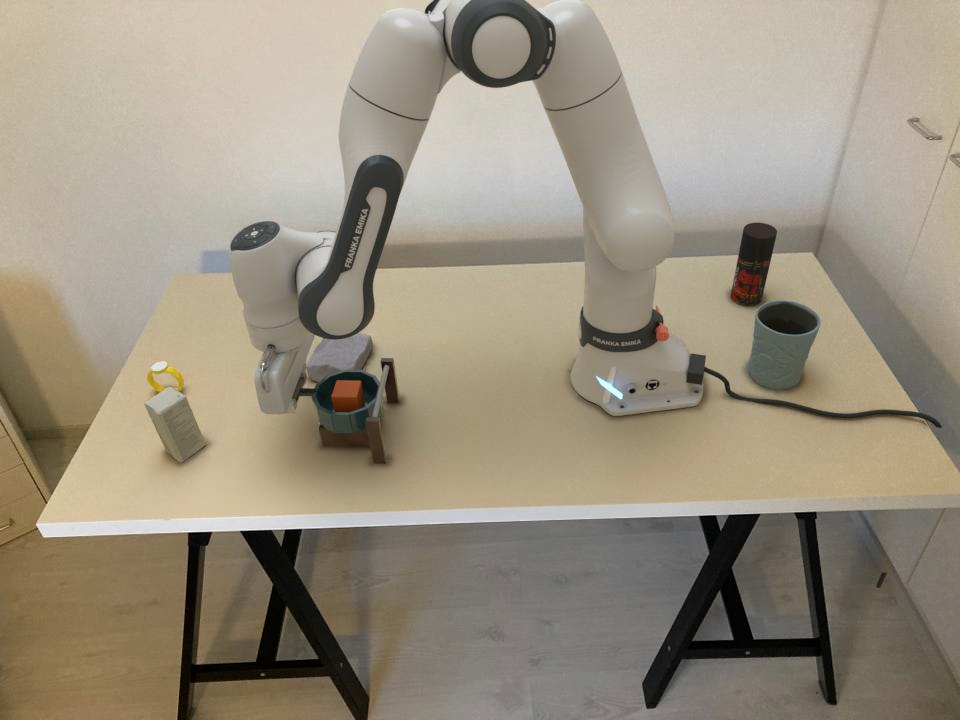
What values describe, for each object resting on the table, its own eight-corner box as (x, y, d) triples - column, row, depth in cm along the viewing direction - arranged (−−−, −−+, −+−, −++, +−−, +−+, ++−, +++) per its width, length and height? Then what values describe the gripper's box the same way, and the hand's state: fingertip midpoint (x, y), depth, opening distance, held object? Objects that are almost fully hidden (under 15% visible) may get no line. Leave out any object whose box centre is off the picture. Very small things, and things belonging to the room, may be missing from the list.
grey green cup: (751, 392, 129) (764, 336, 122) (737, 355, 137) (749, 299, 130) (812, 391, 129) (829, 335, 121) (794, 354, 137) (810, 298, 129)
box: (191, 434, 128) (172, 384, 121) (207, 445, 125) (187, 394, 118) (164, 452, 124) (142, 402, 117) (179, 464, 122) (158, 413, 115)
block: (364, 399, 125) (361, 380, 123) (359, 415, 122) (356, 397, 119) (340, 398, 125) (336, 380, 123) (335, 415, 122) (331, 396, 120)
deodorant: (724, 292, 152) (737, 226, 143) (750, 286, 154) (765, 220, 144) (741, 308, 148) (755, 241, 138) (768, 302, 149) (783, 234, 140)
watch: (189, 387, 137) (179, 361, 133) (183, 397, 135) (173, 371, 131) (157, 385, 138) (147, 360, 134) (151, 396, 136) (140, 370, 132)
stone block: (307, 389, 138) (357, 386, 135) (298, 368, 135) (349, 364, 132) (331, 350, 147) (378, 347, 144) (322, 330, 144) (370, 326, 141)
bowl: (391, 385, 128) (389, 364, 126) (379, 437, 119) (376, 416, 116) (303, 383, 129) (298, 363, 127) (284, 435, 120) (278, 414, 117)
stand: (399, 398, 132) (393, 357, 126) (385, 463, 120) (378, 421, 115) (337, 398, 133) (328, 357, 127) (317, 462, 121) (306, 421, 115)
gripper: (281, 371, 106) (300, 442, 115) (314, 288, 122) (329, 356, 130) (236, 371, 106) (258, 441, 115) (275, 288, 122) (292, 356, 131)
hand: (296, 395), depth 123 cm, fingers closed on bowl, 5 cm apart
